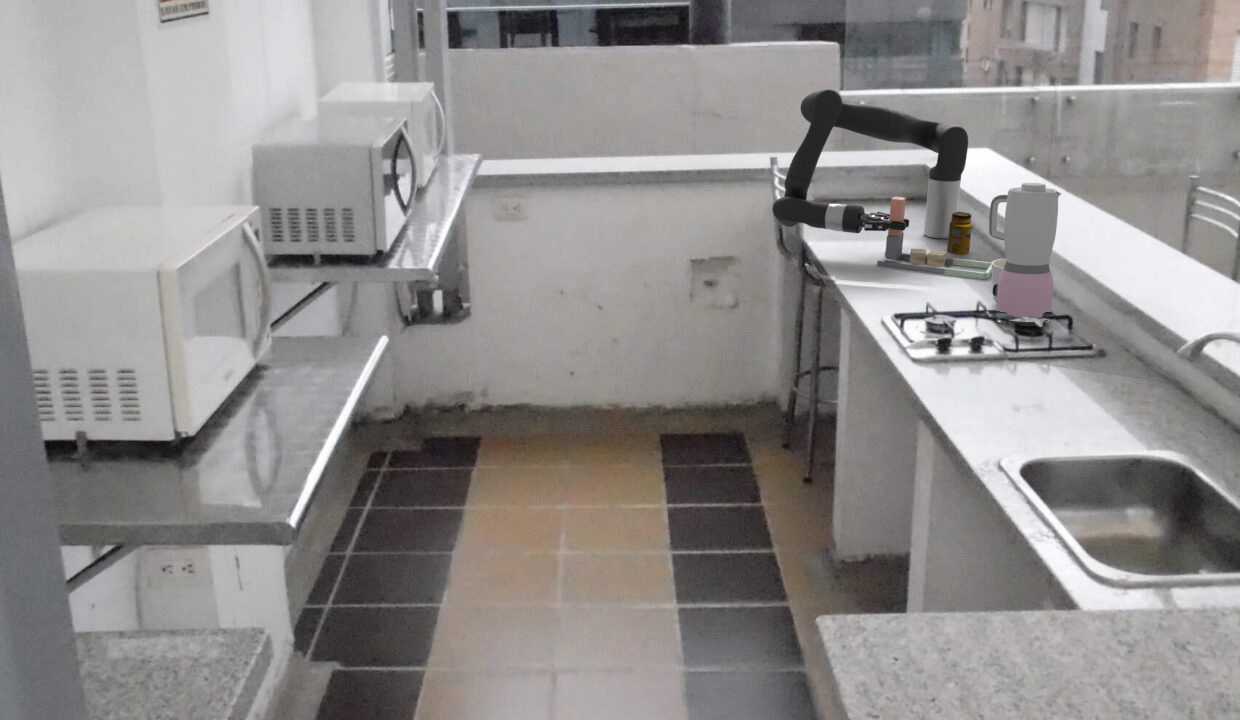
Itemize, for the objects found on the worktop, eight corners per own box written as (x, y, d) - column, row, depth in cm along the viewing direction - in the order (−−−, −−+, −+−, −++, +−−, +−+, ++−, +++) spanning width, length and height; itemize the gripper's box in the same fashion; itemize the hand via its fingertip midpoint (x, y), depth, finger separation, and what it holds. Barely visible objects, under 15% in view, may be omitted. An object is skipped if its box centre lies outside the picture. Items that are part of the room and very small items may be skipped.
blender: (1057, 319, 277) (1070, 182, 269) (1041, 330, 268) (1054, 189, 259) (991, 311, 286) (1001, 178, 278) (973, 321, 277) (983, 184, 268)
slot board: (887, 259, 331) (888, 250, 330) (952, 267, 323) (953, 258, 322) (876, 269, 320) (877, 260, 320) (943, 277, 313) (944, 268, 312)
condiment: (975, 256, 334) (979, 214, 330) (954, 260, 330) (958, 218, 326) (955, 250, 340) (959, 209, 336) (934, 255, 336) (938, 213, 332)
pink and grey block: (890, 252, 327) (895, 195, 321) (902, 253, 325) (907, 196, 320) (884, 258, 321) (889, 199, 316) (896, 259, 320) (901, 201, 314)
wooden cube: (909, 262, 324) (911, 248, 322) (925, 263, 322) (926, 249, 321) (909, 266, 320) (910, 251, 319) (924, 267, 319) (925, 253, 318)
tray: (952, 267, 323) (953, 258, 322) (994, 271, 319) (995, 262, 318) (943, 277, 313) (944, 268, 312) (986, 282, 308) (987, 273, 308)
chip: (929, 264, 322) (931, 250, 320) (944, 266, 320) (946, 251, 319) (926, 268, 318) (927, 253, 317) (941, 269, 317) (943, 255, 315)
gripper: (838, 209, 319) (902, 216, 312) (852, 199, 331) (914, 206, 324) (836, 236, 322) (899, 244, 314) (850, 226, 333) (911, 232, 326)
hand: (906, 224), depth 319 cm, fingers closed on pink and grey block, 3 cm apart
